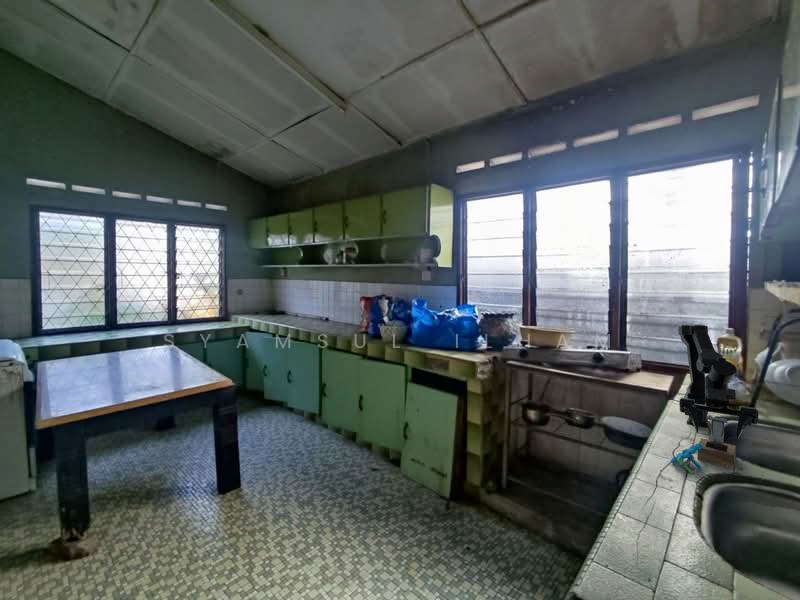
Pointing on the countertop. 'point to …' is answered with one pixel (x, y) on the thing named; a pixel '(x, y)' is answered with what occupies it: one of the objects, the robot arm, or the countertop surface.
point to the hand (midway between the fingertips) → (716, 435)
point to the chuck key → (717, 431)
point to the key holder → (717, 454)
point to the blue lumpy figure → (688, 457)
